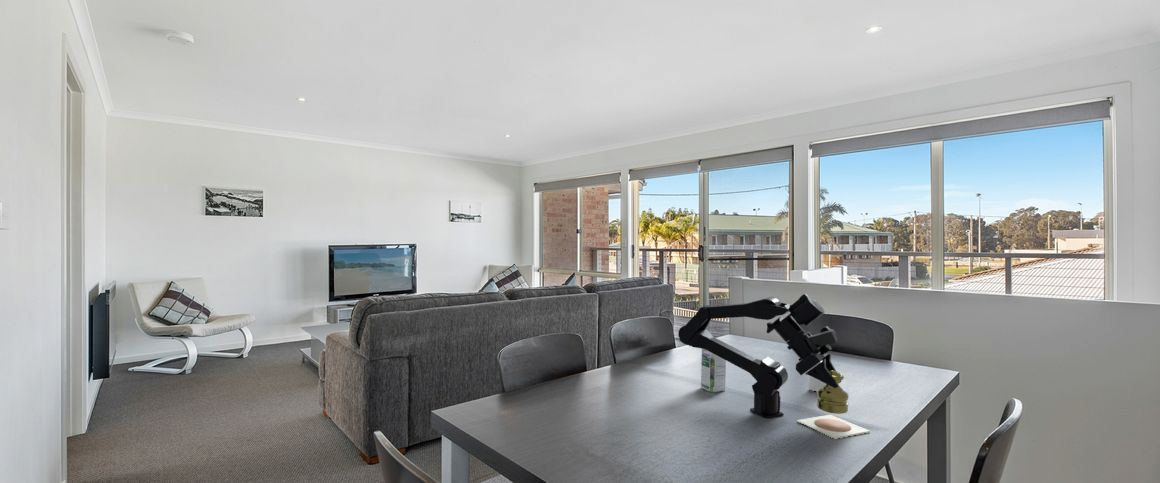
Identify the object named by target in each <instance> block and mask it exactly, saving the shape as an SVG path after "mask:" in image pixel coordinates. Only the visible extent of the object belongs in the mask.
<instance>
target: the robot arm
mask: <svg viewBox="0 0 1160 483" xmlns="http://www.w3.org/2000/svg"><path fill="white" fill-rule="evenodd" d="M825 312H826V311H825V310H824V308H823V307H822V306H821V304H820V303H819V302H818V301H817V300H815V299H814V298H812V297H810V296H809V295H808V294H807V293H804V294H802V295H801V296H800V297H799V298H798V299H797V300H796V301H795V302H793V303H792V304H789V303H785V302H781V301H780V299H778V298H776V297H774V296H773V297H772V296H769V297H765V298H761V299H758V300H754V301H750V302H746V303H745V302H744V303H733V304H731V303H730V304H720V305H704V306H700V307H699V309H698V310H697V312H696V313H695V314H694V315H692V317H691V318H690V319H689V321H688V322H687V323H686V324H685V325H682V326H681V327H680V328H679V330H678V339H679V341H680V342H681V343H682V344H683V345H685V346H689V347H692V348H696V349H701V350H702V349H705V350H707V351H709V352H711V353H713V354H715V355H717V356H719V357H721V358H722V359H724V360H726V362H728V363H730V364H731V365H734V366H736V367H738V368H740V369H741V370H743V371H745V372H747V373H748V374H750V375H751V376H752V377H753V378H754V380H755V381H756V382H754V383H753V384H752V385H751V389H752V392H753V393H754V394H753V407H750V408H749V411H751V412H753V413H755V414H756V415H758V416H761V417H763V418H765V419H769V418H773V417H780V416H784V412H781V394H780V391H779V390H780V388H781V387H783V386H784V384H785V383H787V381H788V378H789V374H788V371H787V369H786V367H784V366H783V365H781V364H782V362H779V361H775V360H774V359H773V358H772V357H769V356H766V357H764V358H763V359H759V358H757V357H753V356H752V355H750V354H747V352H744V351H742V350H740V349H738V348H737V347H734V346H732V345H730V344H728V343H726V342H724V341H722V340H720V339H719V338H716V337H714V336H713V334H711V332H709V330H708V329H707V327H708V326H709V325H710V322H711V320H714V319H733V318H734V319H735V318H751V319H755V320H764V321H769V320H773V319H775V318H776V319H775V320H774V321H773V322H772V321H771V322H768V323H766V334H770V333H772V332H773V331H775V332H776V333H777V335H779V336H780V338H781V339H782V340H783V341H784V342H785V344H786V345H787V346H786V347H787V349H788V350H792V351H793V352H794V354H795V355H796V356H797V357H798V362H797V363H796V364H795V371H796V372H798V373H797V374H799V375H800V376H803V375H804V374H805V375H807V376H808V377H809V376H811V377H814V378H816V379H818V380H820V381H822V382H824V383H826V384H828V385H830V386H832V387H833V388H837V387H838V384H837V382H836V381H835V379H834V378H833V376H832V375H831V374H830V372H829V371H830V370H834V371H837V370H836V369H835V367H834V365H833V363H832V361H831V360H832V352H830V351H832V350H833V347H831V345H834V344H837V342H838V341H839V339H838V337H837V332H836V331H835V329H834V328H832V329H831V328H830V327H829V326H823V327H821V328H820V330H819V331H820V332H817V333H815V334H812V333H811V332H810V331H805V330H804V329H803V328H802V327H801V326H803V325H804V326H806V327H808V326H809V325H811V324H812V323H813V322H814V321H816V320H817V319H819V318H820V317H821V316H822V315H824V314H825ZM787 313H789V314H788V315H787V316H785V317H782V316H784V315H786V314H787ZM777 317H778V318H777ZM828 352H829V353H828ZM827 353H828V354H827ZM841 382H842V380H841V381H840V382H839V384H840V383H841Z"/></svg>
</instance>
